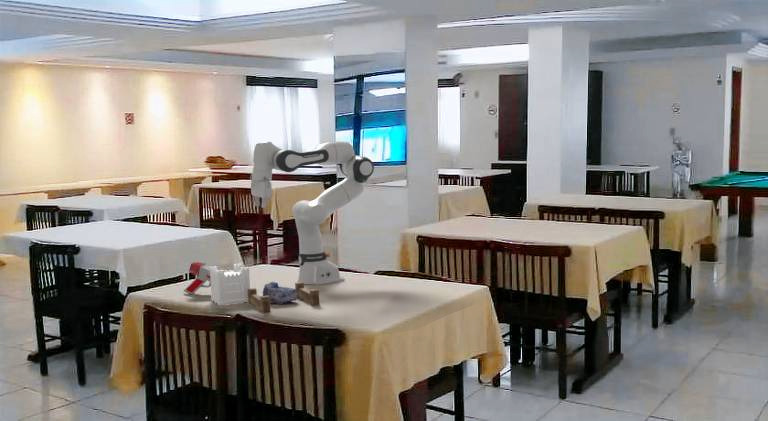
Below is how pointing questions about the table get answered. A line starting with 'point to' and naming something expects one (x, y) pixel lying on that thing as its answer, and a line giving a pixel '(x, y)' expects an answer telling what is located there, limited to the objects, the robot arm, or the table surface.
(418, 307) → the table surface
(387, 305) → the table surface
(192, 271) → the toy gun
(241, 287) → the castle model
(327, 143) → the robot arm
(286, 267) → the table surface
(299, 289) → the wooden brackets
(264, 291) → the mineral
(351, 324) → the table surface
